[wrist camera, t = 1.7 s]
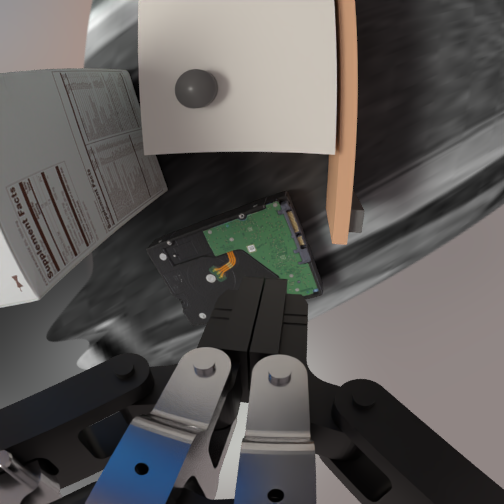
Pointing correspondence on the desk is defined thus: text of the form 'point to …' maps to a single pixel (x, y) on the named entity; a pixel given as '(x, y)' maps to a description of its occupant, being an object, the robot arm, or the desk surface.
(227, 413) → the robot arm
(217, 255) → the disk drive
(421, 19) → the desk surface
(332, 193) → the door
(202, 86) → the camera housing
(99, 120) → the supplement box
